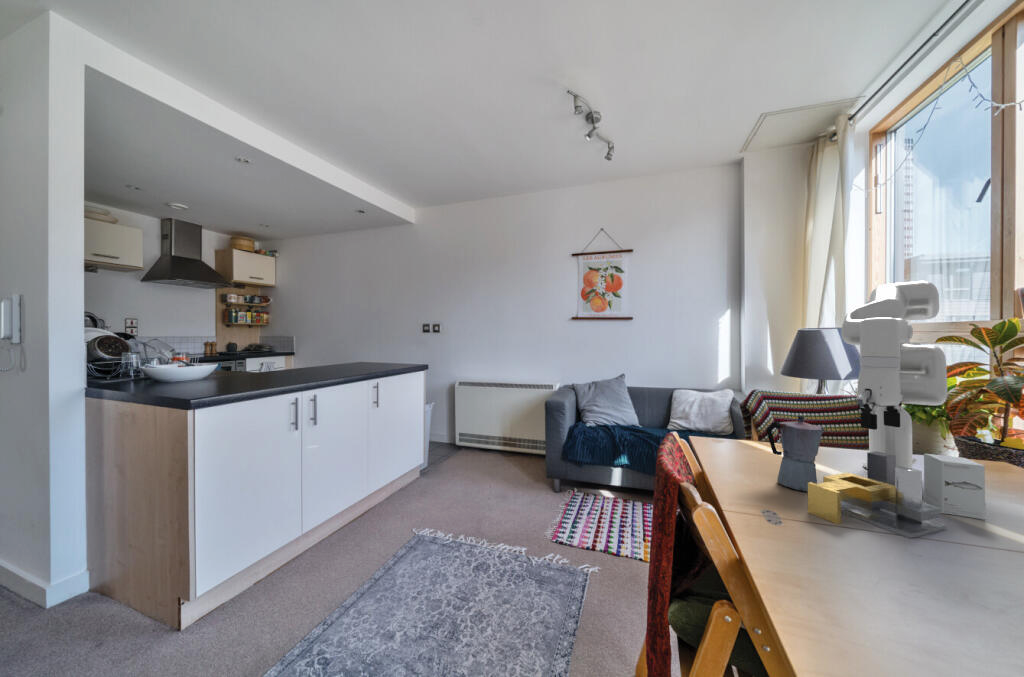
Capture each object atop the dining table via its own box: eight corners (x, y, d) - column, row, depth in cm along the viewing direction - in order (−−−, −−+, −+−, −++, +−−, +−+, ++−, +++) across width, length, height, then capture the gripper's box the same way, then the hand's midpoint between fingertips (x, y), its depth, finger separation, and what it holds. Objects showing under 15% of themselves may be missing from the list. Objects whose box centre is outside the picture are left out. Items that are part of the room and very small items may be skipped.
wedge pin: (877, 491, 98) (876, 451, 99) (896, 497, 94) (895, 455, 95) (867, 493, 97) (867, 452, 97) (887, 499, 93) (886, 456, 93)
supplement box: (940, 513, 85) (939, 460, 86) (923, 501, 92) (922, 452, 92) (987, 521, 82) (986, 465, 82) (965, 508, 88) (964, 456, 89)
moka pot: (839, 494, 96) (838, 419, 97) (781, 493, 97) (780, 418, 97) (810, 480, 106) (809, 412, 106) (757, 479, 106) (757, 412, 107)
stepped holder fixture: (855, 498, 94) (854, 452, 94) (946, 528, 78) (945, 473, 78) (800, 509, 87) (799, 459, 87) (887, 544, 72) (886, 484, 72)
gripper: (882, 362, 103) (882, 422, 102) (841, 363, 97) (842, 426, 97) (918, 364, 96) (919, 428, 95) (877, 364, 90) (878, 432, 90)
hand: (880, 427), depth 96 cm, fingers open, 9 cm apart
